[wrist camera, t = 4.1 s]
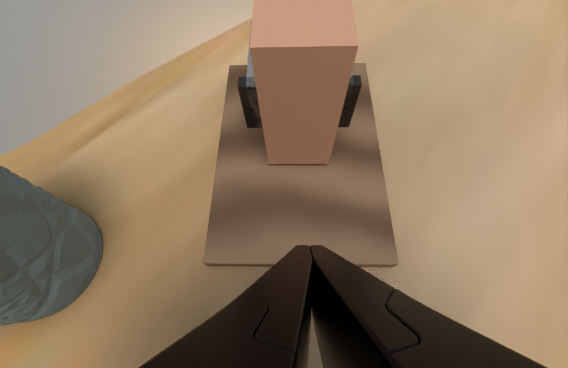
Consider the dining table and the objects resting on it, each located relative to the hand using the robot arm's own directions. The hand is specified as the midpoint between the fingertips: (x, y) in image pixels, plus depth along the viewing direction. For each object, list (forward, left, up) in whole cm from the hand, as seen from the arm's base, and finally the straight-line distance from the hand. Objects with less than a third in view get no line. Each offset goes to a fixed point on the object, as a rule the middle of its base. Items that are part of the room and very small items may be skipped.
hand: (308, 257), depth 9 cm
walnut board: (+8, -9, -12) cm, 17 cm away
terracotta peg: (+8, -9, -11) cm, 17 cm away
